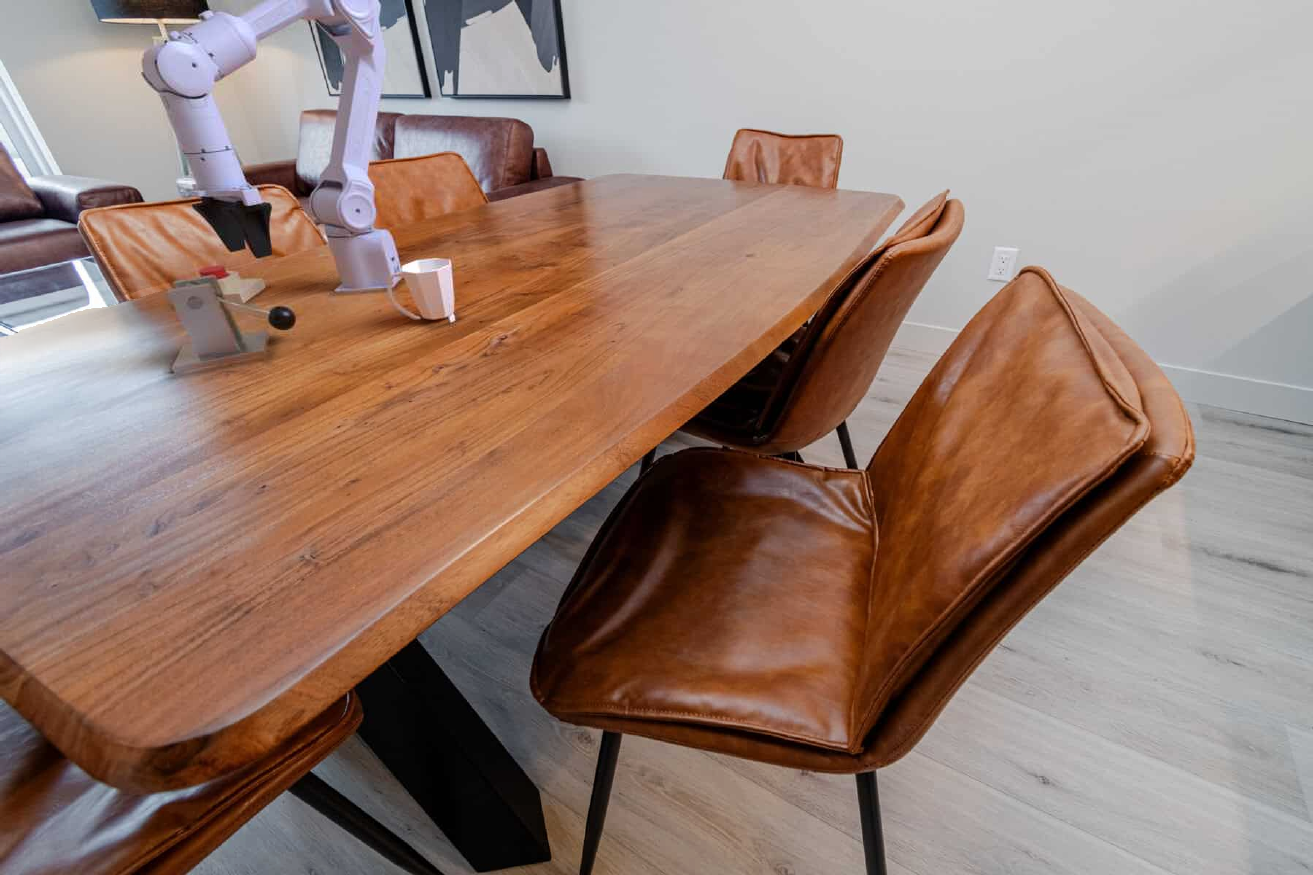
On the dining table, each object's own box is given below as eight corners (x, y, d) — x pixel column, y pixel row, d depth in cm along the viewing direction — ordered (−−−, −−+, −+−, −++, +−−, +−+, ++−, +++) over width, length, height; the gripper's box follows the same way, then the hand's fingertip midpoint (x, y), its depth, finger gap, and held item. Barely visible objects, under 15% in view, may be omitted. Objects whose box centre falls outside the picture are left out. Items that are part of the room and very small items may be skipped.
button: (233, 275, 100) (228, 264, 99) (221, 282, 97) (217, 271, 96) (210, 276, 100) (205, 266, 99) (198, 283, 97) (193, 273, 96)
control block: (266, 287, 104) (257, 267, 102) (243, 303, 97) (234, 282, 95) (206, 292, 103) (196, 272, 101) (179, 308, 96) (169, 287, 94)
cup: (455, 329, 83) (441, 272, 78) (386, 331, 84) (368, 274, 79) (472, 311, 89) (459, 256, 84) (407, 312, 90) (391, 259, 85)
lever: (293, 328, 82) (298, 307, 81) (292, 336, 80) (298, 314, 79) (184, 301, 75) (188, 278, 74) (179, 309, 73) (184, 284, 72)
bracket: (270, 337, 84) (241, 267, 78) (266, 358, 77) (234, 284, 72) (187, 353, 80) (150, 281, 75) (175, 376, 74) (135, 300, 69)
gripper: (152, 153, 81) (198, 254, 88) (201, 157, 74) (247, 267, 81) (208, 146, 86) (247, 243, 93) (259, 149, 79) (297, 253, 86)
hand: (250, 253), depth 87 cm, fingers open, 7 cm apart
